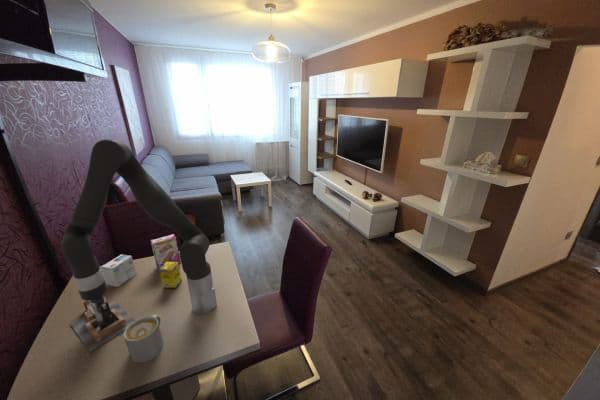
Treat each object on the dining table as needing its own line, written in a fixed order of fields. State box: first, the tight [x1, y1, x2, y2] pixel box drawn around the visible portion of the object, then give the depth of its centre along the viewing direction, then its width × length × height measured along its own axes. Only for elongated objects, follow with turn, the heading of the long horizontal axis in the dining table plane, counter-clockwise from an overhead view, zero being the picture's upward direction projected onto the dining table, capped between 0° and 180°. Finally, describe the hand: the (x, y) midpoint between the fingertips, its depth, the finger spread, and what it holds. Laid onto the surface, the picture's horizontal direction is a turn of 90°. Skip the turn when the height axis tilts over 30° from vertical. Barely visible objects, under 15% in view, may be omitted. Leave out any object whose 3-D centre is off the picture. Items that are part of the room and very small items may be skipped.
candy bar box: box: [150, 233, 182, 272], centre depth 129 cm, size 11×5×16 cm, turn 130°
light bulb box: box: [100, 254, 137, 288], centre depth 119 cm, size 11×7×11 cm, turn 165°
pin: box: [81, 299, 97, 320], centre depth 100 cm, size 11×3×4 cm, turn 56°
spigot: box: [93, 308, 114, 331], centre depth 93 cm, size 4×4×11 cm
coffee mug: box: [123, 314, 164, 364], centre depth 87 cm, size 13×10×10 cm
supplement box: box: [159, 262, 182, 290], centre depth 116 cm, size 6×6×11 cm
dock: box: [70, 300, 136, 352], centre depth 96 cm, size 20×15×4 cm
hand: (104, 318), depth 93 cm, fingers open, 7 cm apart
